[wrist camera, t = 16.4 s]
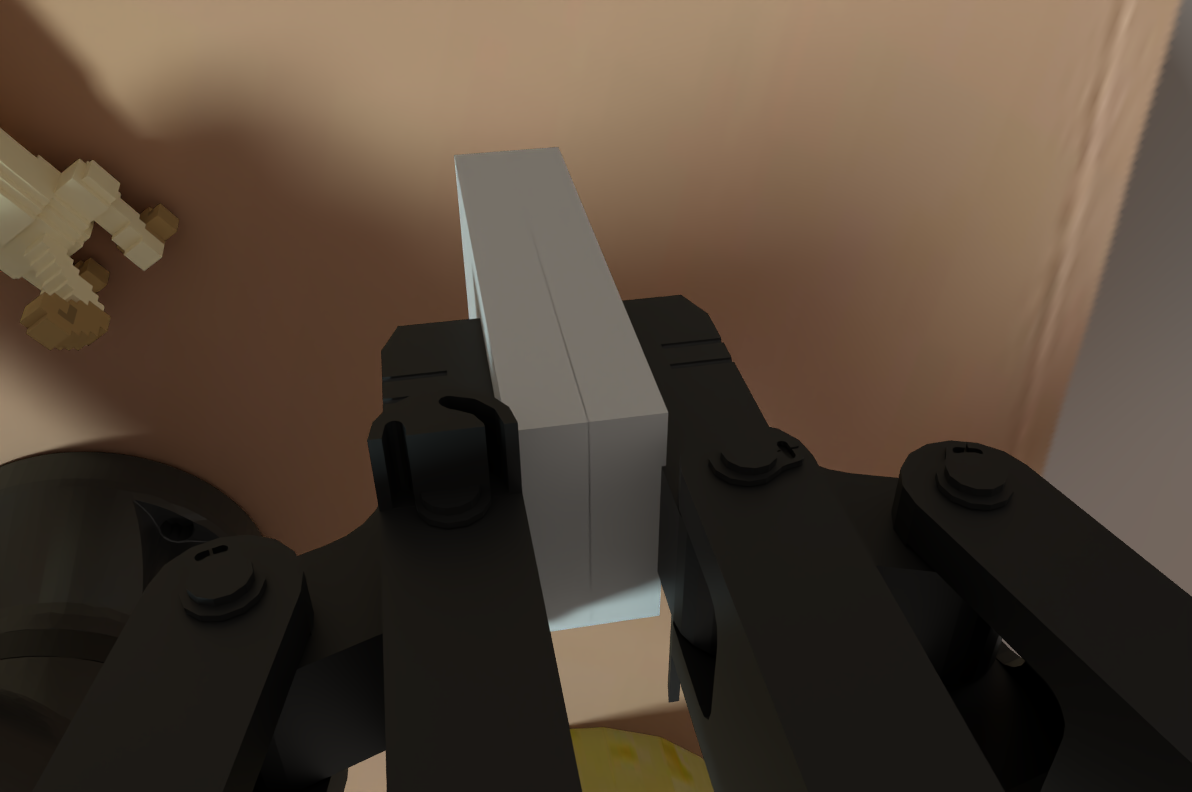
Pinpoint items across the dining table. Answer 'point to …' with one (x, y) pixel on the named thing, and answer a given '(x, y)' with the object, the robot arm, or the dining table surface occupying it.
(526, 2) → the dining table surface
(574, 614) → the robot arm
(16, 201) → the cream elongated figure
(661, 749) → the cheese
